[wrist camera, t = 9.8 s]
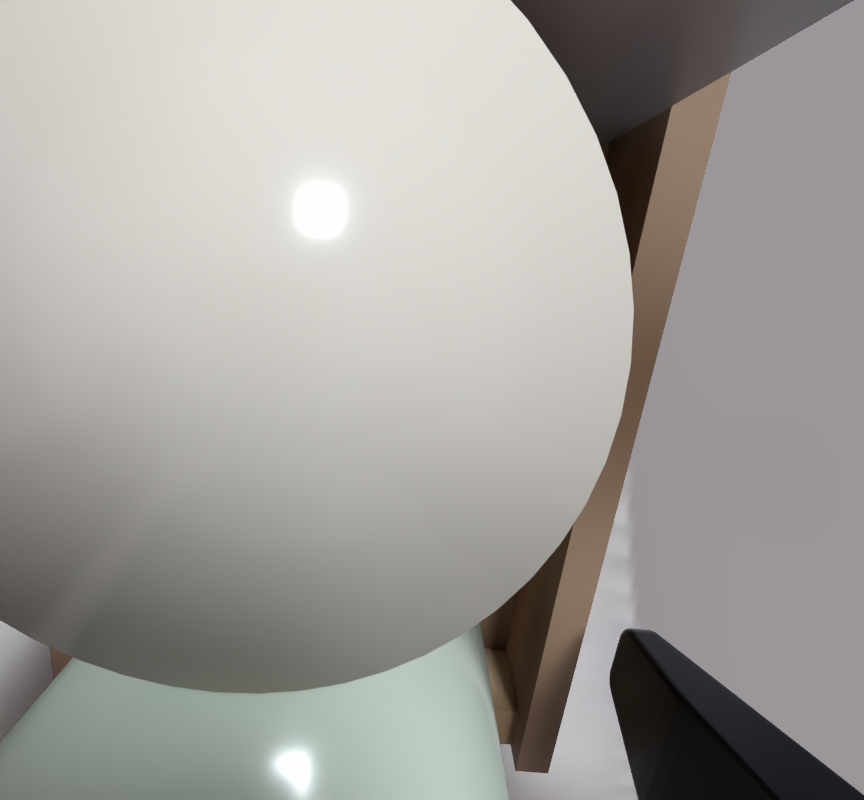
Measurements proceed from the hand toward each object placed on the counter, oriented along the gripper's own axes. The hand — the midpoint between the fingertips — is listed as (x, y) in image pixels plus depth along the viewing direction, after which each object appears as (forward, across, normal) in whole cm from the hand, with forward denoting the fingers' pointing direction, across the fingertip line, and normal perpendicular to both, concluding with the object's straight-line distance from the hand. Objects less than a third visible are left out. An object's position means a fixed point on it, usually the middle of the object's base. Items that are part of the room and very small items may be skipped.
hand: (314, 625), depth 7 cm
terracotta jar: (+3, 0, -4) cm, 5 cm away
